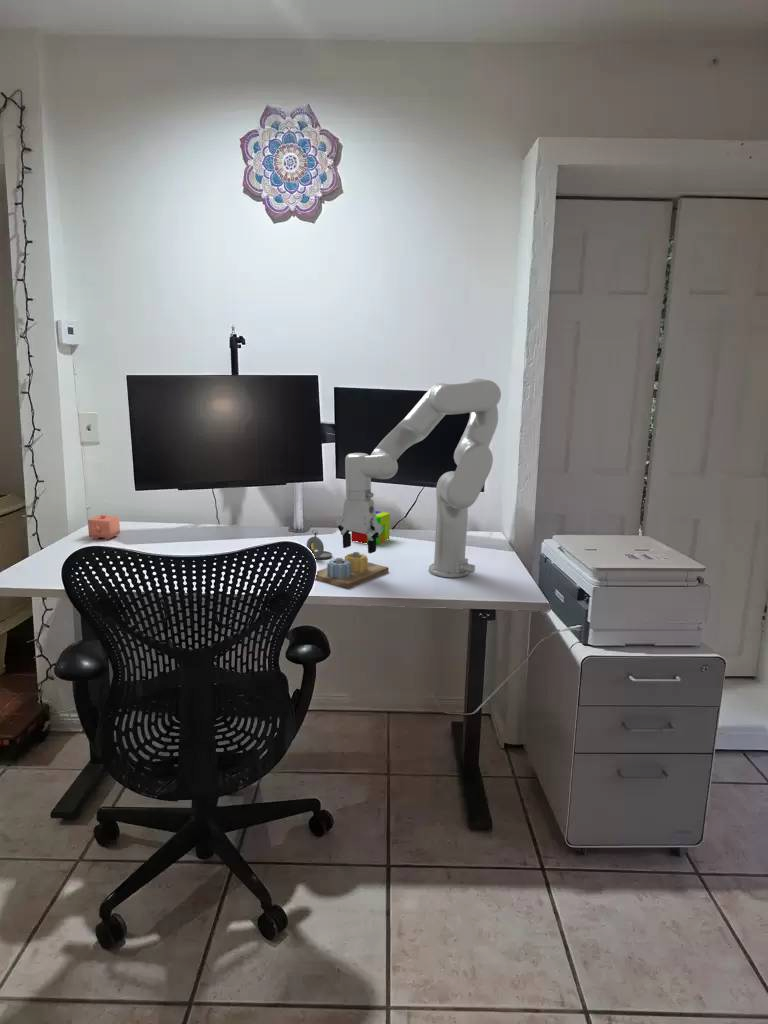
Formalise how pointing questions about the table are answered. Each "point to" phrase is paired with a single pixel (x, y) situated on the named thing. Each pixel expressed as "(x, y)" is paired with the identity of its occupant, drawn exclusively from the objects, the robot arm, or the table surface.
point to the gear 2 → (357, 562)
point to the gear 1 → (339, 569)
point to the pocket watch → (317, 547)
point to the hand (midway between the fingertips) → (359, 549)
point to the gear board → (353, 574)
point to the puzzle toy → (383, 521)
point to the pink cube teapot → (103, 526)
